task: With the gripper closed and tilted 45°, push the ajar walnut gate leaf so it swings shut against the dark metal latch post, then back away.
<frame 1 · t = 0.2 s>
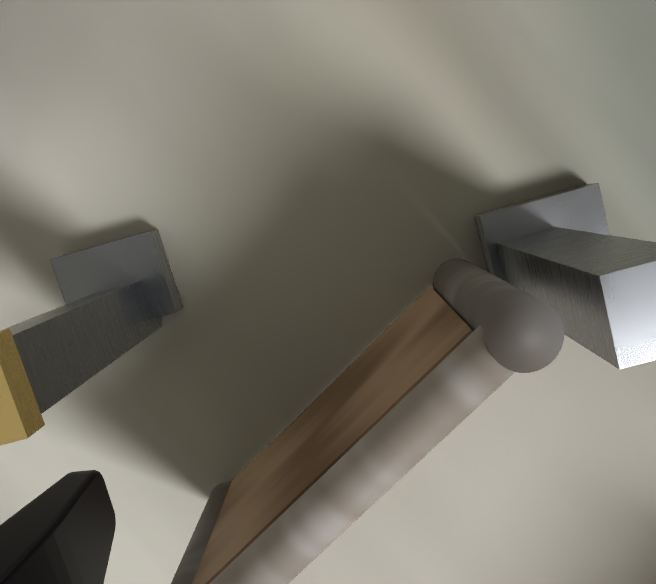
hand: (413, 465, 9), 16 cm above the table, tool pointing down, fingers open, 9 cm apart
gate posts: (453, 279, 24), on the table
gate leaf: (339, 441, 20), point 5 cm above the table, hinge at 30.0°
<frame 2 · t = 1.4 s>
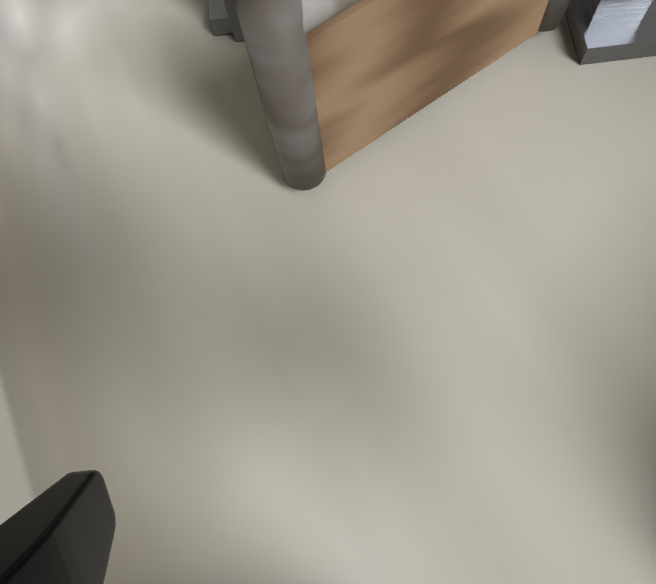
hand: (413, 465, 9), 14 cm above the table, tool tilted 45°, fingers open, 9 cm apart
gate posts: (537, 28, 27), on the table
gate leaf: (437, 10, 22), point 5 cm above the table, hinge at 30.0°
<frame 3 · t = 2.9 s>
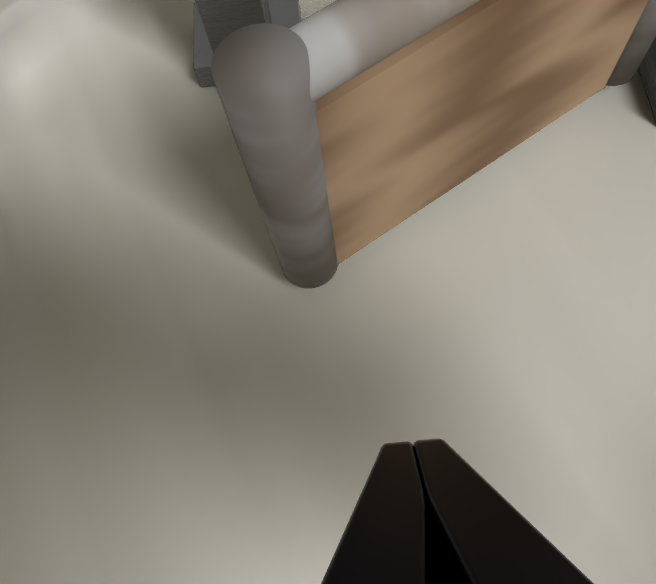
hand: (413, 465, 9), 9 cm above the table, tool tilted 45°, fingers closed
gate posts: (601, 80, 22), on the table
gate leaf: (488, 63, 16), point 5 cm above the table, hinge at 30.0°
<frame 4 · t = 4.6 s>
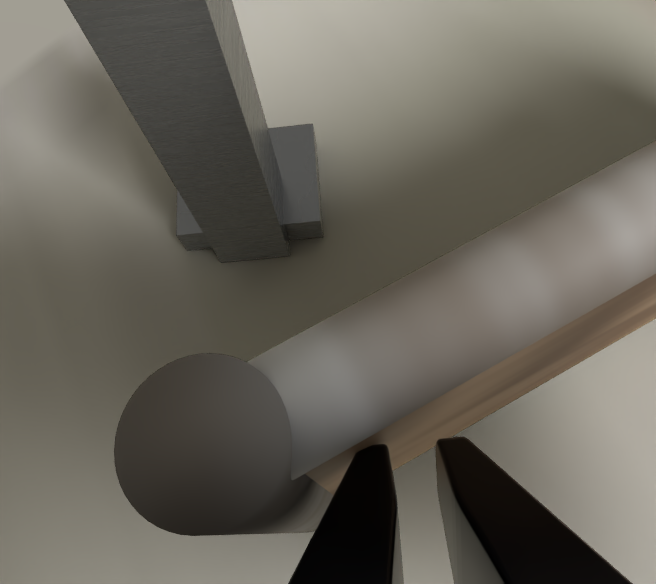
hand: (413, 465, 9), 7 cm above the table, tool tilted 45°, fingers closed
gate leaf: (584, 299, 11), point 5 cm above the table, hinge at 24.3°, touching gripper
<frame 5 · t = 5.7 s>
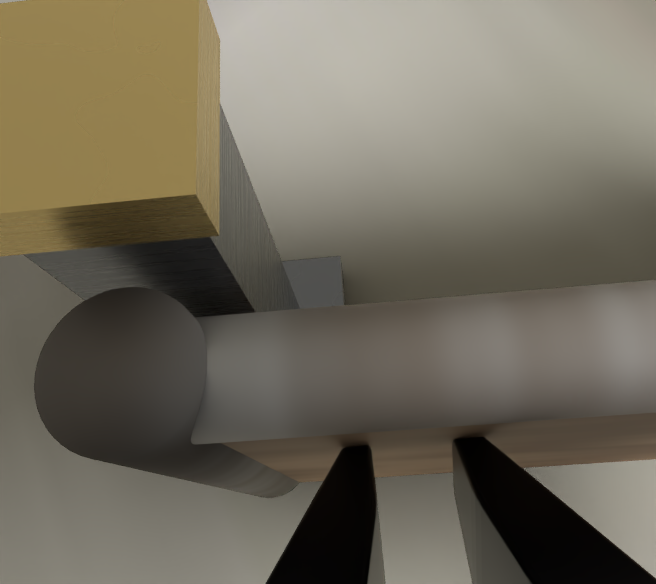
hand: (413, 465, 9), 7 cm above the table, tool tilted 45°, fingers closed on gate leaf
gate leaf: (605, 404, 10), point 5 cm above the table, hinge at -0.2°, touching gripper
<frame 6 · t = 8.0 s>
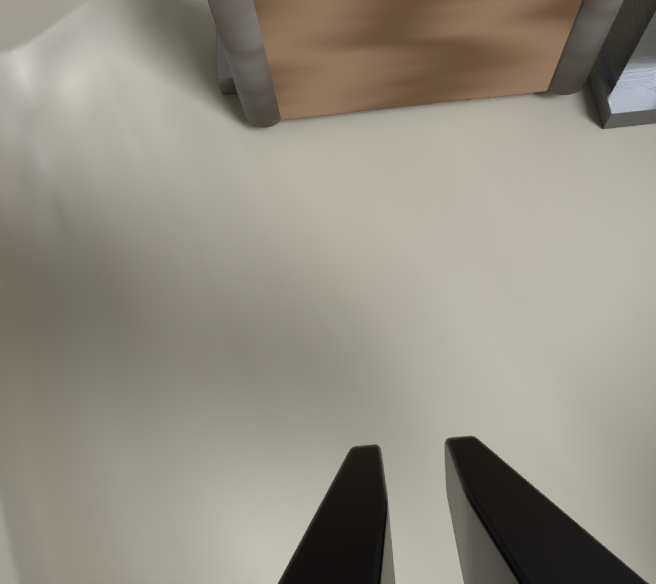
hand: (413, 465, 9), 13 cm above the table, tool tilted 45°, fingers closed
gate posts: (558, 89, 26), on the table
gate leaf: (419, 11, 22), point 5 cm above the table, hinge at -0.3°
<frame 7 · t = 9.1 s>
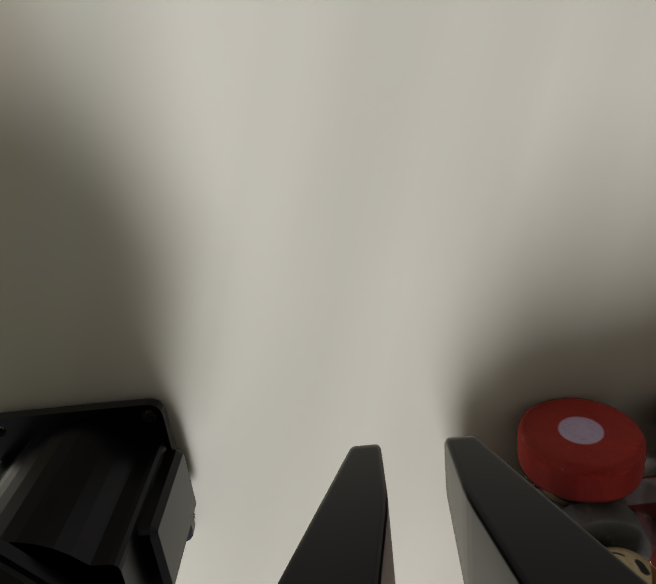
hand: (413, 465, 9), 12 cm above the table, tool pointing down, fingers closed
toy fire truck: (614, 461, 24), on the table
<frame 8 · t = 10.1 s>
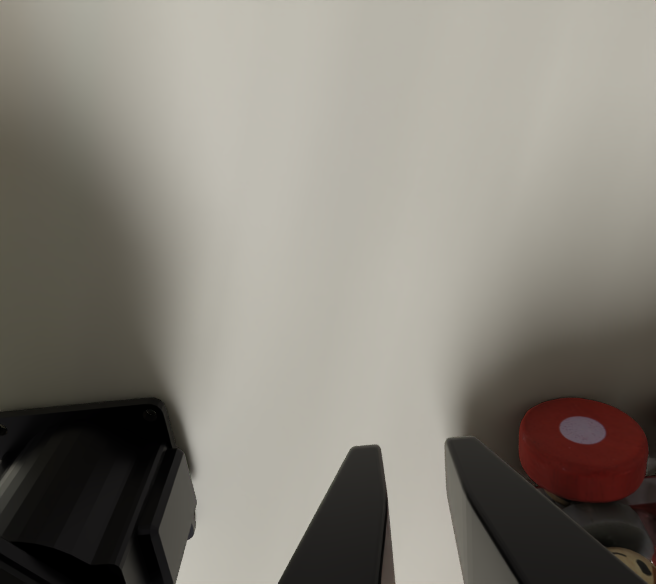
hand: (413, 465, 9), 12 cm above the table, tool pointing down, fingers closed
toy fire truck: (616, 461, 24), on the table
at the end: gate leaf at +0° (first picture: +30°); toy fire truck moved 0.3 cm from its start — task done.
